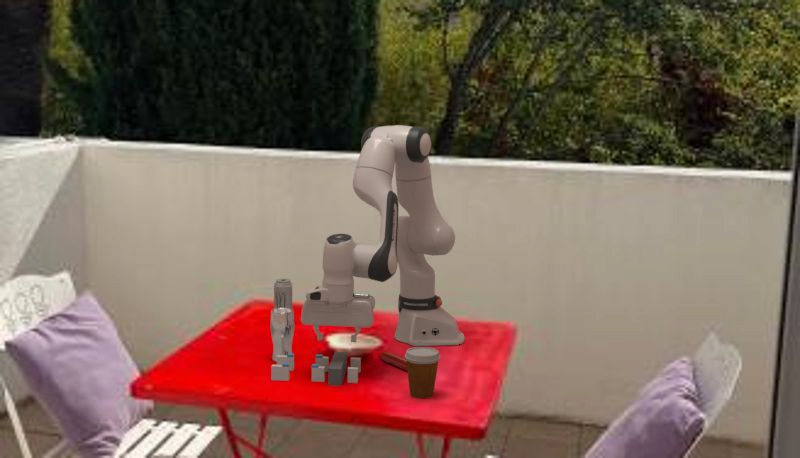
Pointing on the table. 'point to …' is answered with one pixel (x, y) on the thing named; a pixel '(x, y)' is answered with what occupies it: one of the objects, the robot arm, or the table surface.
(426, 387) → the disposable coffee cup
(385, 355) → the candy bar
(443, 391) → the table surface
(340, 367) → the tall grey pillar
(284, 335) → the beer glass
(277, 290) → the energy drink can
